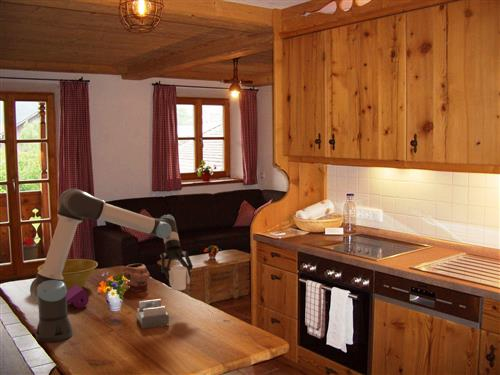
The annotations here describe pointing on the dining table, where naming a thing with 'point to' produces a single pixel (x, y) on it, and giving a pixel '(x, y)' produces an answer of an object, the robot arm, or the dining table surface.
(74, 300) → the purple elongated rounded piece
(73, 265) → the planter bowl
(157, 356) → the dining table surface
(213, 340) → the dining table surface
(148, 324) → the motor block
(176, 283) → the white cup
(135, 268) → the decorative planter
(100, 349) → the dining table surface
